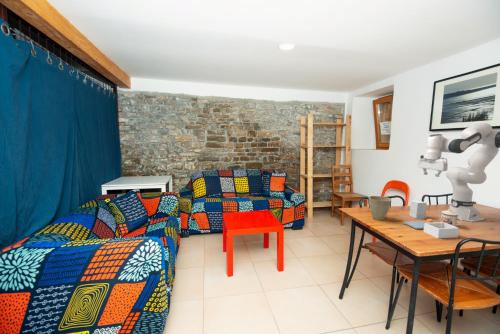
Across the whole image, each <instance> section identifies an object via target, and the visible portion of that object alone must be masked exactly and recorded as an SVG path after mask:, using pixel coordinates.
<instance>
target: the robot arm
mask: <svg viewBox="0 0 500 334" xmlns="http://www.w3.org/2000/svg"><path fill="white" fill-rule="evenodd" d="M426 140H427V141H426V151H425V154H420V155H419V157H418V158H419V159H418V164H417V166H418V168H419V169H422V172H423V175H425V176H427V175H428V174H429V173H428V172H427V170H432V171H436V173H435V177H437V178H439V177H440V176H441V175H440V174H442V172H445V176H446V178H448V180H449V181H450V182H451V186H452V198H451V200H450V203H451V204H450V205H449V208H448V209H451V210H452V211H453V212H454V213H457V214H458V218H461V219H462V221H467V222H471V223H474V222H479V221H481V222H482V221H485V218H483V217H482V216H481V212H480V210H479V209H477V208H476V207H475V206H474V205H477V201H474V200H473V195H474V191H473V190H472V189H471V188H470V187H469V185H468V184H471V185H481V184H483V183H485V182H486V180H487V174H486V172H485V169H486V167H487V166H489V164H490V163H491V162H492V161H493V160H494V159H495V158H496V157H497V155H498V154H499V149H500V130H498V129H493V127H492V125H491V124H489V123H487V122H482V123H478V124H473V125H471V126H469V127H466V128H464V129H463V130H462V131H461V138H446V137H445V136H443V133H442V134H440V133H436V134H430V135H429V136H428V138H427V139H426ZM475 144H478V145H481V147H479V148H478V149H477V150H476V151H475V152H474V153H473V154H472V155H471V156H469V158H468V160H467V164H468V165H469V166H468V167H462V166H461V167H460V166H452V167H449V168H448V159H447V158H446V157H442V153H453V154H459V155H460V154H462V153H464V152H465V151H466V150H467V149H468V148H469V147H472V146H473V145H475ZM458 220H460V219H458Z"/></svg>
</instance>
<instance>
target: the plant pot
mask: <svg viewBox="0 0 500 334" xmlns="http://www.w3.org/2000/svg"><path fill="white" fill-rule="evenodd" d="M391 203H392V199H391V197H390V198H389V197H386V196H382V195H369V196H368V204H369V205H368V206H369V209H370V214H371V216H372V218H373V220H376V221H383V220H385V219H386V217H387V214H388V212H389V209H390V207H391Z"/></svg>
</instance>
